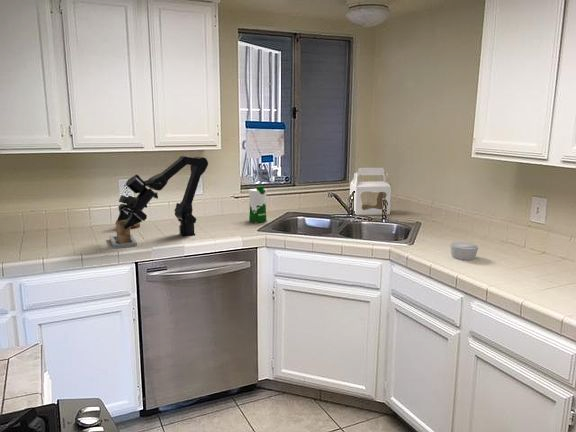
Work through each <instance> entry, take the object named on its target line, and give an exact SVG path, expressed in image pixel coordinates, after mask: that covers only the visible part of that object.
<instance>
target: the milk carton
mask: <svg viewBox="0 0 576 432" xmlns="http://www.w3.org/2000/svg"><path fill="white" fill-rule="evenodd" d="M247 192H248V196H249V217H248V218H249V219H248V221H249V220H250V221H249V222H251V221H253V222H252V223H255V222H259V223H263V222H267V193H268V189H266V188H265V187H264V185H257V186H256V188H251V189H248V191H247Z"/></svg>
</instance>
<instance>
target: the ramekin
mask: <svg viewBox="0 0 576 432" xmlns="http://www.w3.org/2000/svg"><path fill="white" fill-rule="evenodd" d="M449 247H450V255H451V257H452V258H453V259H455V260H462V261H471V260H472V261H473V260H474V259H476V257H477V253H478V250H479V246H478V245H477V244H474V243H472V242H471V243H470V242H466V241H465V242H462V241H457V242H456V241H455V242H452V243H450V244H449Z"/></svg>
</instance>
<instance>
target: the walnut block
mask: <svg viewBox="0 0 576 432" xmlns="http://www.w3.org/2000/svg"><path fill="white" fill-rule="evenodd" d="M127 221H128V220H120V221H117V220H115V227H116V236H117V244H122V243H131V236H130V234H131V229H130V227H129V228H127V229H125V228H124V226H125V224H126V223H127Z"/></svg>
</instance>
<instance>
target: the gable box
mask: <svg viewBox="0 0 576 432" xmlns="http://www.w3.org/2000/svg"><path fill="white" fill-rule="evenodd" d="M359 176H360V177H361V176H382V181H381V180H380V181H379V180H378V181H377V180H376V181H375V180H374V181H359ZM388 176H389V175H388V172H385V168H384V167H358V168H357V171H356V172H354V173H353V176H352V177H353V178H352V180H351V182H350V183H349V196H350V195H351V194H352V192H353V191H355V193H354V211H355V214H356V215H355V216H373V215H375V216H378V215H380V216H381V215H382V198H385V199H386V200H387V202H388V206H387V214H386V215H390V213H391V196H392V193H391V191H392V186H391V185H392V184H391V182H390V180H389V177H388ZM366 192H368V193H378V195H377V197H376V204H375V205H371V204H363V202H362V197H361V196H362V193H366Z"/></svg>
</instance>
